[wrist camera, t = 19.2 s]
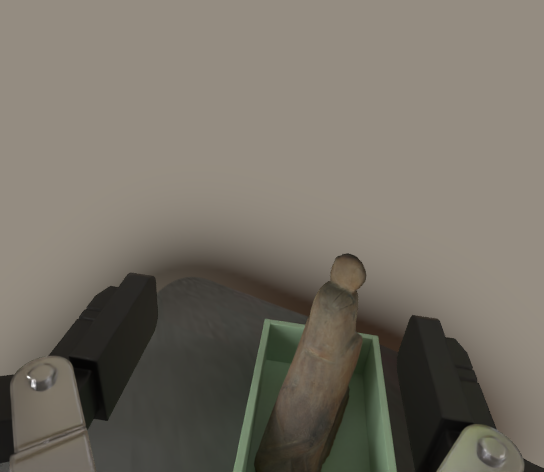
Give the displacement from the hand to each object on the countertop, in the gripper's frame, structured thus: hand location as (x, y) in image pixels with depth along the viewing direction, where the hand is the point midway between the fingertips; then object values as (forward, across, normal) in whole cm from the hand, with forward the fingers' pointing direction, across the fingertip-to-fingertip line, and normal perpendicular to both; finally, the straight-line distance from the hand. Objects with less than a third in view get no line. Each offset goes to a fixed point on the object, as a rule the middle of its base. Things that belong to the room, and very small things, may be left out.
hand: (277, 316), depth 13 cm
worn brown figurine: (+13, -4, +24) cm, 28 cm away
